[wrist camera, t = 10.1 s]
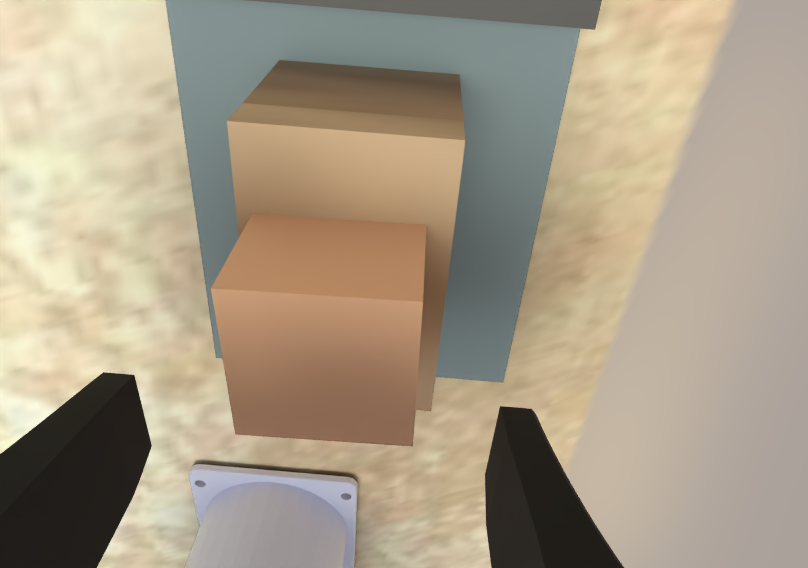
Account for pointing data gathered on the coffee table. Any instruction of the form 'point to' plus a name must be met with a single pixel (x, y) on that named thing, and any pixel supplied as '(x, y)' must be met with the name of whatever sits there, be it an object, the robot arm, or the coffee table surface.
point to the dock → (417, 51)
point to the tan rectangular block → (357, 162)
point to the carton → (323, 328)
